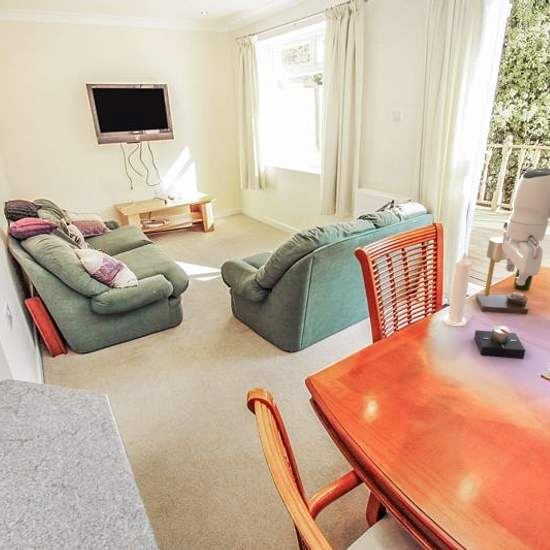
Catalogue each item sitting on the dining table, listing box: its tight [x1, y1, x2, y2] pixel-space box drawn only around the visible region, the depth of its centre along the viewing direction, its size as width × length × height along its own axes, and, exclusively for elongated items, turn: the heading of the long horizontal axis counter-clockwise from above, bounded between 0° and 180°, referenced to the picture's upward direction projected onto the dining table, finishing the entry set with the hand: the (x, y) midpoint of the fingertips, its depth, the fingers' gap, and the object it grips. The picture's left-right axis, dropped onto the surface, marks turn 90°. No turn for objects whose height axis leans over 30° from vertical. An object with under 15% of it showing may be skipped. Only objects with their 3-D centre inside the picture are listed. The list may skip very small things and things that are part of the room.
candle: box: [443, 252, 472, 328], centre depth 121 cm, size 7×7×25 cm
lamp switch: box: [512, 291, 524, 300], centre depth 131 cm, size 3×3×2 cm
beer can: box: [512, 268, 534, 293], centre depth 142 cm, size 5×5×12 cm
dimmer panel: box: [473, 329, 526, 360], centre depth 111 cm, size 11×9×3 cm
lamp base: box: [475, 292, 529, 315], centre depth 133 cm, size 15×10×4 cm
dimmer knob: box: [491, 325, 511, 344], centre depth 110 cm, size 4×4×4 cm
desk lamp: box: [483, 236, 507, 297], centre depth 129 cm, size 6×6×21 cm
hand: (514, 277), depth 107 cm, fingers open, 8 cm apart
